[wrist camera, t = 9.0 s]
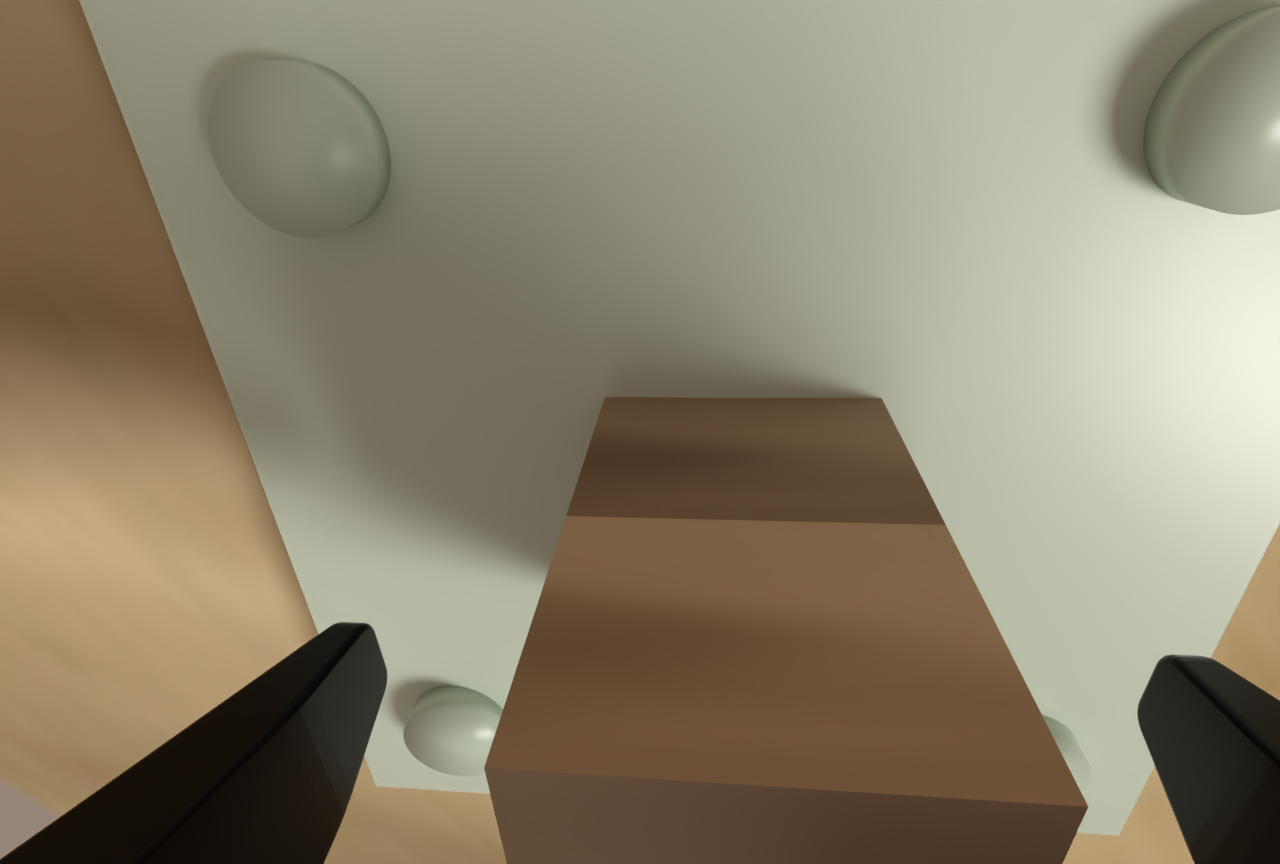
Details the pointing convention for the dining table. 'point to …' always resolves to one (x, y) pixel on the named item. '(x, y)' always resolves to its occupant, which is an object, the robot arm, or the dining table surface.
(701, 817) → the brown rectangular block
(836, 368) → the baseplate
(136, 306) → the dining table surface
